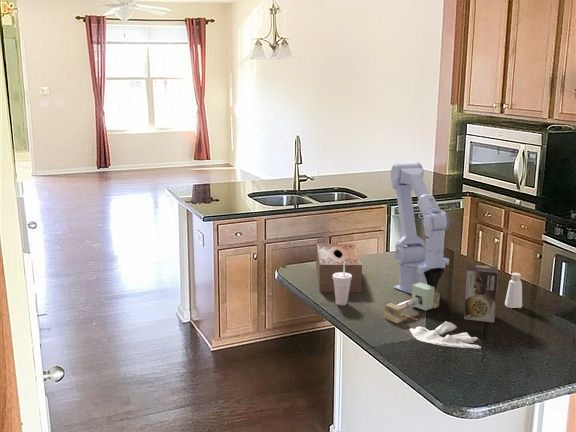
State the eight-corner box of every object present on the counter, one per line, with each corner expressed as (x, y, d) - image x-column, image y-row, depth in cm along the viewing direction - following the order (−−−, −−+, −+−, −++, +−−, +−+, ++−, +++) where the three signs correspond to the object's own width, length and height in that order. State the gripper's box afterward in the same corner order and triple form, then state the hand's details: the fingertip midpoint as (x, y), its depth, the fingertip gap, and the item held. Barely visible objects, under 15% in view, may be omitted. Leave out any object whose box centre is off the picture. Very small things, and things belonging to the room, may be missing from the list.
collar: (418, 302, 199) (419, 282, 197) (433, 307, 195) (434, 286, 193) (411, 305, 196) (412, 285, 195) (425, 310, 192) (426, 289, 191)
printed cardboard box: (494, 315, 190) (499, 266, 187) (494, 323, 184) (498, 272, 181) (464, 311, 193) (468, 263, 189) (463, 319, 187) (466, 269, 184)
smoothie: (350, 307, 196) (351, 266, 193) (330, 305, 197) (331, 264, 194) (352, 300, 202) (353, 260, 199) (333, 298, 203) (333, 258, 200)
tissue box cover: (316, 268, 235) (316, 243, 233) (353, 268, 235) (354, 244, 233) (319, 292, 210) (319, 264, 208) (361, 292, 210) (362, 264, 208)
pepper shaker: (522, 304, 199) (526, 272, 197) (521, 310, 195) (524, 277, 192) (505, 301, 202) (508, 270, 199) (503, 307, 197) (506, 275, 194)
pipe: (429, 296, 200) (430, 290, 199) (435, 298, 198) (436, 292, 197) (388, 312, 186) (388, 305, 186) (394, 314, 184) (394, 308, 184)
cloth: (398, 330, 181) (398, 323, 180) (457, 318, 189) (458, 311, 189) (442, 359, 163) (442, 351, 162) (505, 344, 171) (505, 337, 171)
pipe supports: (419, 299, 203) (420, 287, 202) (445, 308, 196) (446, 295, 195) (378, 315, 189) (378, 302, 188) (404, 325, 182) (404, 312, 181)
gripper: (431, 256, 187) (428, 298, 190) (458, 248, 196) (455, 287, 199) (412, 251, 192) (410, 292, 195) (439, 243, 201) (437, 282, 204)
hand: (431, 289), depth 197 cm, fingers closed
